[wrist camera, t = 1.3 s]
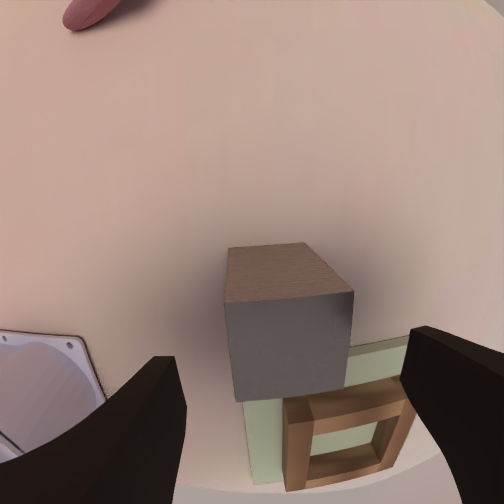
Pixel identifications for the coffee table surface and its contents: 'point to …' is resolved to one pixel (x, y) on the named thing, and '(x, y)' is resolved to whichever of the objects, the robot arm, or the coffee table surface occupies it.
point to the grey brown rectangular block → (285, 322)
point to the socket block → (334, 424)
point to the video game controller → (86, 12)
